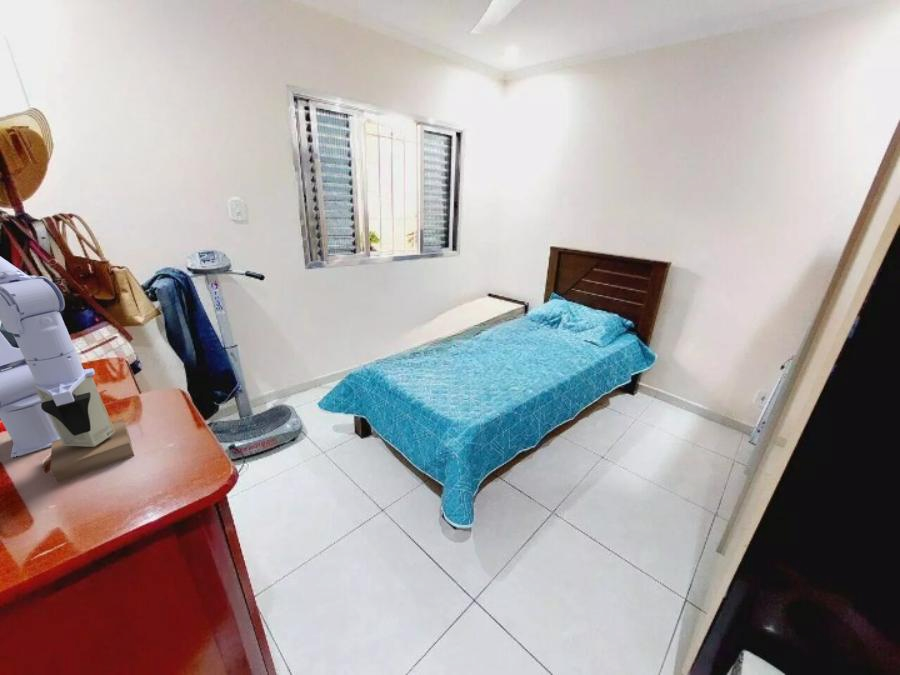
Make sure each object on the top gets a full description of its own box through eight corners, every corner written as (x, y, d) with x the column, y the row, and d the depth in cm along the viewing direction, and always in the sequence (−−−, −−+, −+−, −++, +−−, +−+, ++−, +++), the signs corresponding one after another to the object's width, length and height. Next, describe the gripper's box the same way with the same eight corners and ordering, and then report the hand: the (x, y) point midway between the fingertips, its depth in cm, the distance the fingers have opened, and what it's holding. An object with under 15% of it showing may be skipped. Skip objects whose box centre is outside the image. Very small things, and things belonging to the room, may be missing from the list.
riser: (58, 454, 67) (51, 441, 66) (128, 431, 73) (123, 419, 72) (57, 484, 60) (50, 469, 59) (134, 455, 67) (129, 442, 66)
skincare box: (116, 433, 67) (94, 374, 63) (93, 448, 63) (67, 387, 59) (85, 431, 68) (61, 373, 63) (59, 446, 64) (32, 385, 59)
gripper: (85, 360, 57) (115, 431, 62) (82, 335, 66) (108, 398, 71) (18, 374, 52) (56, 450, 57) (26, 345, 62) (57, 412, 67)
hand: (81, 422), depth 64 cm, fingers closed on skincare box, 7 cm apart
